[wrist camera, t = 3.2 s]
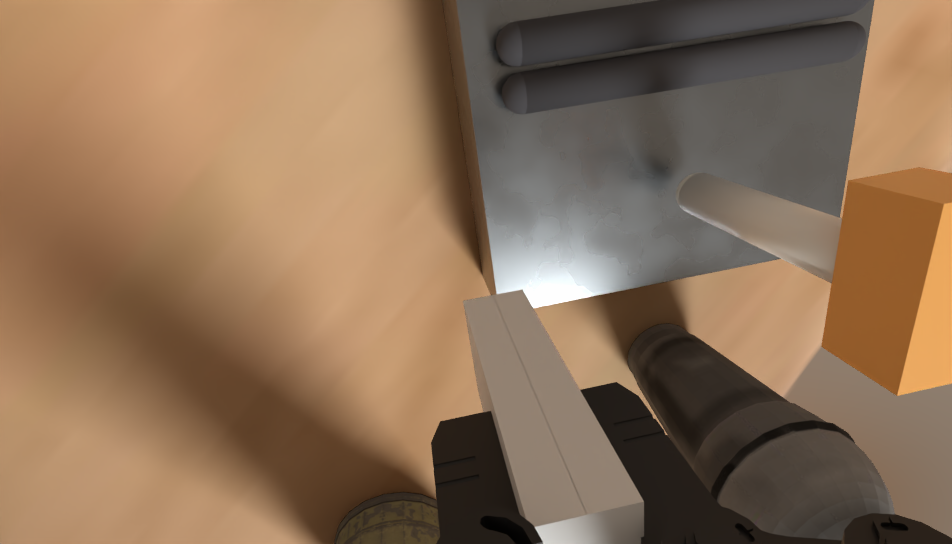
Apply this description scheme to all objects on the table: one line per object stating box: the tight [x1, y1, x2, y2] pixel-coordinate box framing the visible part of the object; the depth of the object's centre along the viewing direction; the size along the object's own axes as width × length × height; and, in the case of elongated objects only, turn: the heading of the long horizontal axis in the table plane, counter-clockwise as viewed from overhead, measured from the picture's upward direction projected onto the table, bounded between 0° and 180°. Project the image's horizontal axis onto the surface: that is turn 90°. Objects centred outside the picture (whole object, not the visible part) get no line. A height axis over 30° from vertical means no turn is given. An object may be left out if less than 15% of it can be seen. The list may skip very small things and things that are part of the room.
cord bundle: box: [496, 0, 870, 114], centre depth 20 cm, size 16×3×2 cm, turn 98°
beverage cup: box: [628, 324, 895, 540], centre depth 24 cm, size 7×7×20 cm
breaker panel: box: [442, 0, 874, 308], centre depth 23 cm, size 18×22×5 cm
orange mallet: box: [676, 167, 952, 396], centre depth 17 cm, size 2×5×12 cm, turn 8°
